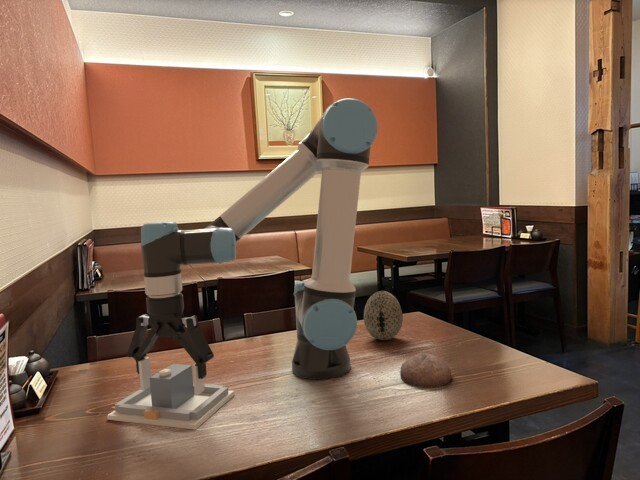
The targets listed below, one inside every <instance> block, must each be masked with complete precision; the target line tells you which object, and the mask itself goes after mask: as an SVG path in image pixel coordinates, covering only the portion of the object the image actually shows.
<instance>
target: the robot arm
mask: <svg viewBox="0 0 640 480" xmlns="http://www.w3.org/2000/svg"><path fill="white" fill-rule="evenodd" d="M378 129H379V124H378V119H377V117H376V114H375V113H374V111H373V109H372V108H371V107H370V106H369V105H368V104H367V103H366V102H364V101H363V100H359V99H357V98H347V97H346V98H341V99H338V100H337V101H335V102H333V103H331V104H330V105H329V106H327V108H326V109H325V110H324V112H323V114H322V116H321V117H320V118H319V119H318V121H317V122H316V124H315V125H314V127H313V128H312V129H311V130H310V131H309V133H308V134H307V135H306V136H305V137H304V138H303V139H302V140H301V141H299V142H298V144H297V149H296V150H295V151H294V152H293V153H292V154H290V155H289V156H288V157H287V158H286V159H285V160H283V161H282V162H281V163H280V164H279V165H277V166H276V167H275V168H274V169H272V170H271V172H269V173H268V174H267V175H266V176H265V177H263V179H261V180H259V182H257V184H255V185H254V186H253V187H252V188H251V189H250V190H248V191H247V192H246V193H245V194H243V195H242V196H241V197H240V198H239V199H238V200H236V201H235V202H234V203H233V204H231V205H230V206H229V207H228V208H227V209H226V210H225V211H224V212H222V213H221V214H220V215H219V216H218V217H216V218H215V219H214V220H212V222H210V223H209V225H207V226H206V227H204V228H199V229H180V228H179V227H178V226H179V225H178V223H177V222H176V221H158V222H157V221H155V222H147V223H144V224H143V225H141V227H140V238H141V240H140V242H141V243H140V249H141V256H142V266H143V275H144V276H143V277H144V278H143V280H144V293H145V295H146V296H147V297H146V298H145V303H146V313H147V314H146V313H145V314H142V315H140V316H136V320H135V321H136V323H135V324H136V325H135V330H134V332H133V336H132V337H131V338H132V339H131V341H130V344H129V348H128V349H127V353H126V355H127V357H128V358H132V359H134V361H135V366H136V372H137V375H139V384H140V385H139V386H140V389H141V390H143V391H144V390H145V389H147V388H149V387H150V377H151V376H152V373H151V362H150V357H148V353H149V352H150V351H151V349H152V347H153V346H154V344H155V343H156V342H157V340H158V339H159V338H160V339H163V338H167V339H174V341H176V342H178V343H179V344H180V346H181V347H182V348H183V349H184V351H186V353H187V355H189V356H190V358H191V359H192V360H193V361H194V363H193V364H192V375H193V383H194V391H195V395H199V394H200V393H202V392H203V391H204V390H205V386H204V384H205V378H206V377H207V373H208V372H207V362H208V361H210V360H212V359H213V358H214V357H215V354H214V353H213V350H212V349H211V347H210V345H209V342H208V341H207V339H206V337H205V334H204V333H203V331H202V329H201V327H200V325H199V320H198V316H197V315H193V316H190V317H189V316H188V317H185V315H184V309H185V304H184V303H185V301H184V294H183V293H182V291H183V281H182V279H183V278H182V266H189V265H204V264H205V265H206V264H223V263H229V262H230V263H231V262H233V261H236V259H237V243H238V242H239V241H240V240H241V239H242V238H243V237H245V236H246V235H247V234H248V233H249V232H251V231H252V230H253V229H254V228H255V227H256V226H257V225H258V224H260V223H261V222H262V221H263V220H265V219H266V218H267V217H268V216H269V215H270V214H272V213H273V212H274V211H275V210H276V209H277V208H279V207H280V206H281V205H282V204H283V203H284V202H286V200H288V199H289V198H290V197H292V195H294V194H295V193H296V192H297V191H298V190H299V189H301V188H302V187H303V186H304V185H305V184H307V183H308V182H309V181H311V179H313V178H314V177H315V176H316V175H317V174H321V178H320V189H319V199H318V209H317V221H316V222H317V223H316V230H315V231H316V232H315V242H314V252H313V259H312V261H313V262H312V273H311V276H310V278H308V280H306V281H305V280H304V281H298V282H296V283H295V284H294V292H293V296H294V305H295V306H294V307H295V322H296V323H295V325H296V344H295V348H294V352H293V356H292V359H291V370H292V373H293V375H295V376H297V377H299V378H304V379H309V380H326V379H333V378H337V377H340V376H343V375H345V374H347V373H348V372H349V371H350V370H351V368H352V364H351V357H350V354H349V352H348V349H347V347H346V345H347V344H348V343H350V341H351V340H352V339H354V336H355V334H356V331H357V329H358V319H357V315H356V314H357V313H356V311H355V310H354V309H355V303H356V302H355V299H356V291H357V289H356V287H355V286H354V284H353V283H352V281H351V271H352V263H353V262H352V261H353V253H354V242H355V233H356V224H357V223H356V222H357V214H358V203H359V195H360V184H361V177H362V173H364V171H365V170H366V169H368V168H369V164H370V158H371V157H370V156H371V149H372V147H371V146H372V145H373V144H374V142H375V140H376V137H377V135H378ZM148 326H150V327H151V328H150V331H149V332H148V334H147V336H146V332H147V330H148ZM186 328H187V329H186ZM145 336H146V338H145ZM144 339H145V340H144Z"/></svg>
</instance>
